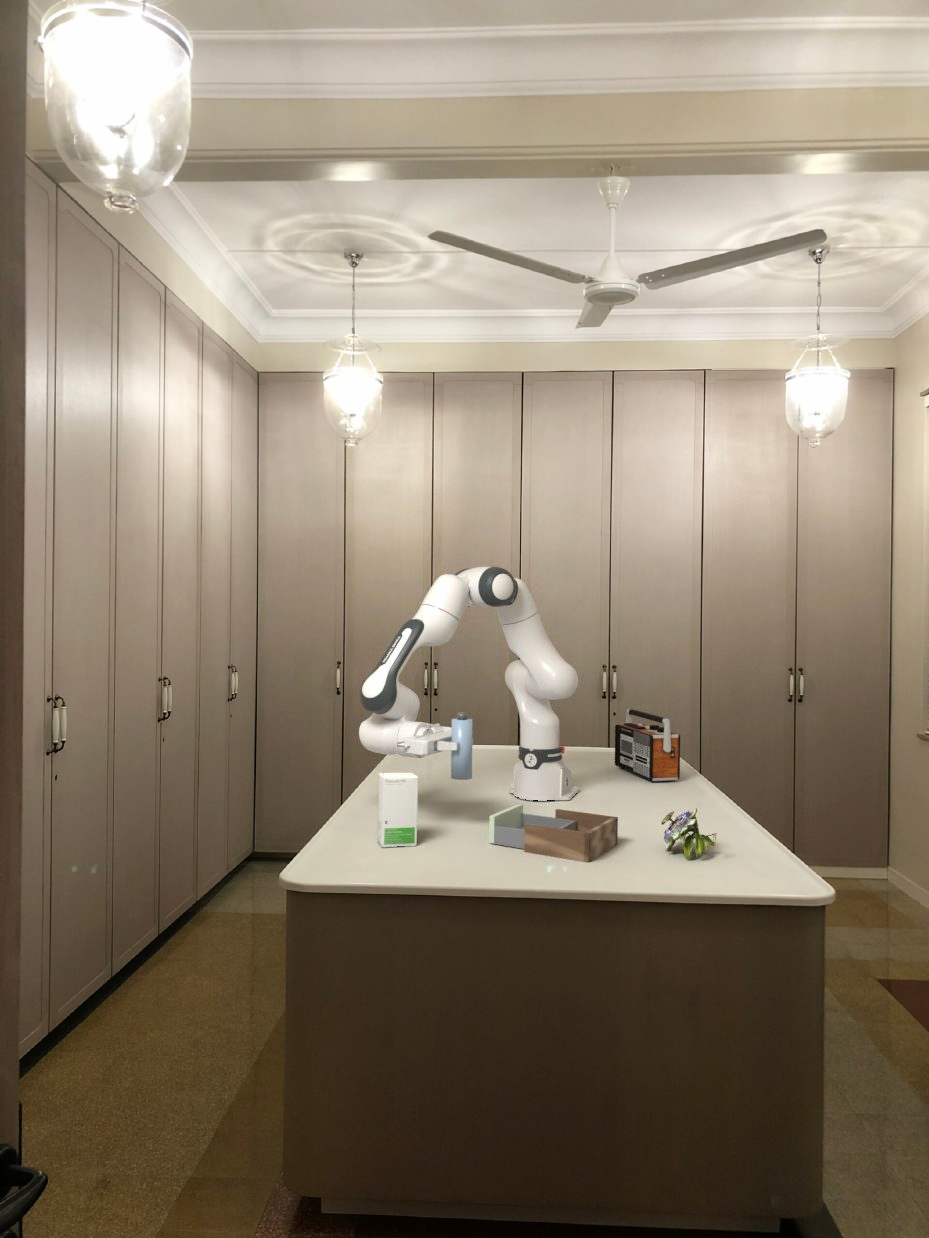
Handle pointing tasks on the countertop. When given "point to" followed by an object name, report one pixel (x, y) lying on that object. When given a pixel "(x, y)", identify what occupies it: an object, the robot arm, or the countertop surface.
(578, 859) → the brown open box
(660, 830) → the countertop surface
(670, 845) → the passion flower
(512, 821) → the drawer
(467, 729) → the lotion bottle
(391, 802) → the skincare box
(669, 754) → the radio cassette player
